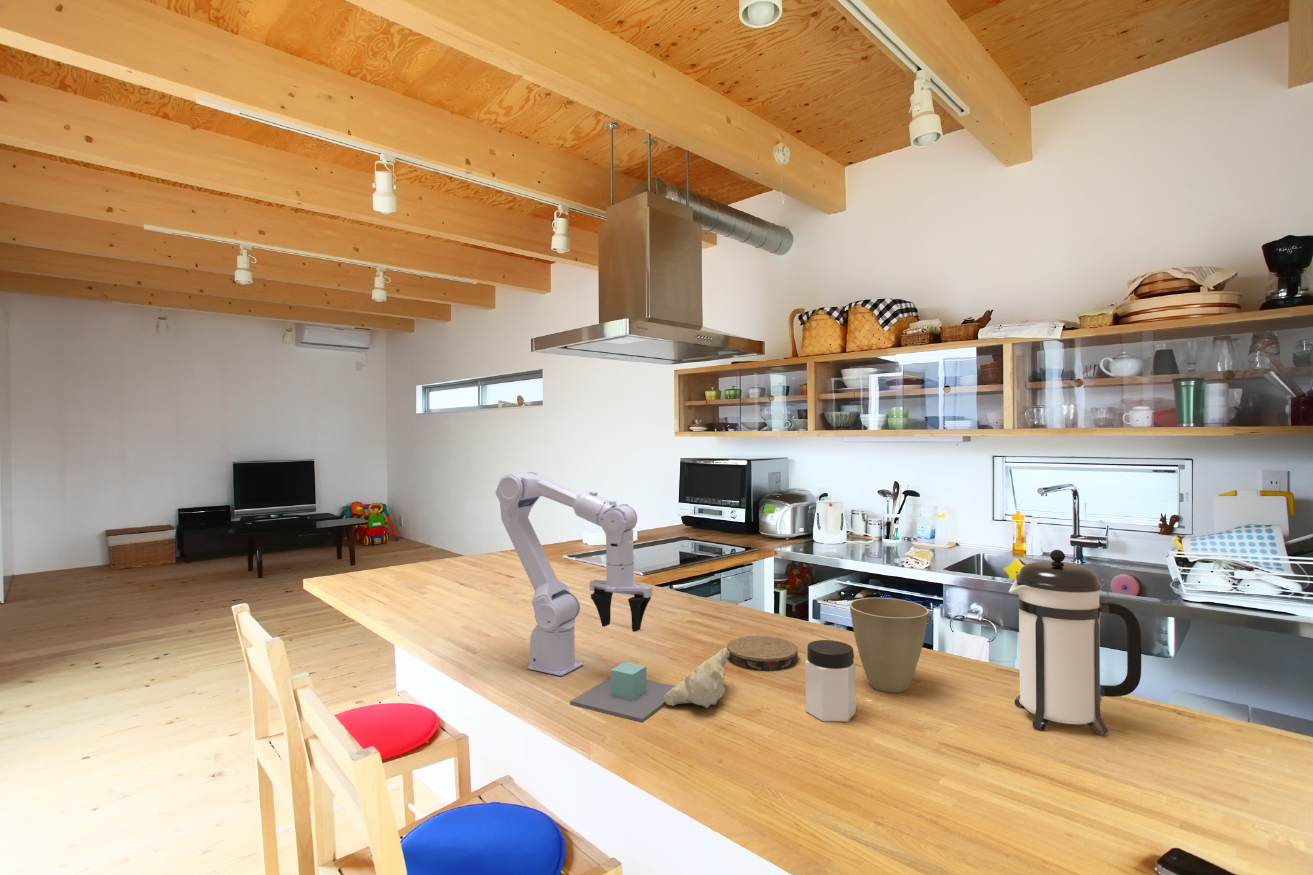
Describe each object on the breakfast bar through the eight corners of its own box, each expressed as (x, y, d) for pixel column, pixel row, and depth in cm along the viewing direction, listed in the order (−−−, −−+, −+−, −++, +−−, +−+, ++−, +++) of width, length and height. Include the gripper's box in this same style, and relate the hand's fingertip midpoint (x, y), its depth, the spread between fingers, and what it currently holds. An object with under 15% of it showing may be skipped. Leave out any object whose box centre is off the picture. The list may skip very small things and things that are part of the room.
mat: (570, 704, 121) (570, 700, 121) (616, 676, 135) (616, 673, 135) (642, 722, 113) (642, 718, 113) (684, 690, 127) (684, 687, 127)
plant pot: (837, 687, 128) (836, 607, 128) (869, 667, 139) (868, 594, 139) (911, 707, 118) (911, 621, 118) (940, 684, 129) (939, 605, 129)
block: (611, 695, 123) (610, 669, 123) (625, 686, 128) (624, 661, 128) (632, 700, 121) (632, 674, 121) (646, 691, 125) (646, 666, 125)
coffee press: (1085, 750, 102) (1084, 561, 102) (992, 712, 116) (991, 547, 116) (1144, 726, 110) (1142, 552, 110) (1050, 694, 124) (1048, 539, 124)
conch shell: (685, 734, 113) (748, 676, 114) (658, 699, 115) (721, 643, 117) (691, 723, 127) (747, 673, 129) (667, 693, 130) (723, 643, 131)
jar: (865, 717, 114) (865, 650, 114) (830, 726, 111) (829, 657, 111) (831, 699, 122) (830, 636, 122) (797, 707, 119) (796, 642, 119)
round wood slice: (778, 678, 134) (778, 663, 134) (713, 662, 144) (713, 649, 144) (809, 657, 147) (809, 644, 147) (748, 644, 156) (748, 631, 156)
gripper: (580, 563, 135) (581, 628, 134) (639, 569, 127) (640, 637, 127) (599, 557, 141) (600, 619, 141) (657, 563, 133) (658, 628, 133)
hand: (620, 627), depth 134 cm, fingers open, 7 cm apart
